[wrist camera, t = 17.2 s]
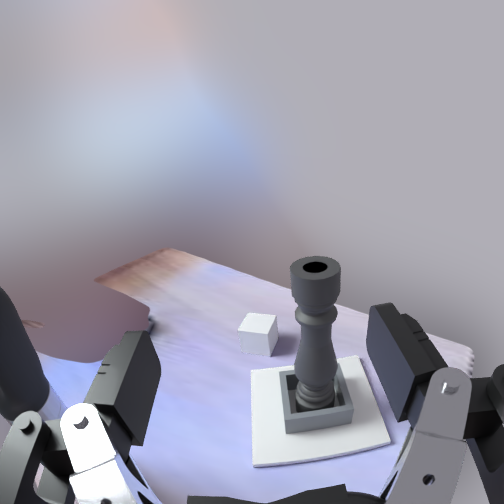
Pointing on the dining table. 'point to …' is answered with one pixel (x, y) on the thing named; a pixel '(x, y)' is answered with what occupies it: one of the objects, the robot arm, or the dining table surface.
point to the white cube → (258, 334)
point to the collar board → (313, 417)
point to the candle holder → (315, 330)
